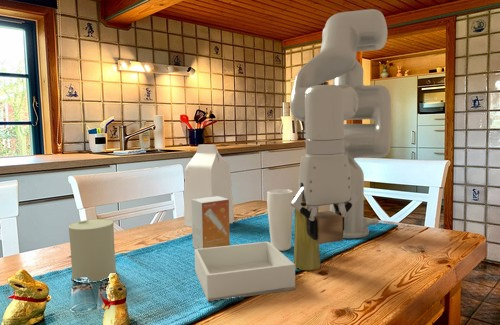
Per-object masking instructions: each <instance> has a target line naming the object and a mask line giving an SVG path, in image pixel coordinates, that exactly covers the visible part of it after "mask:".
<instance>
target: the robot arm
mask: <svg viewBox="0 0 500 325" xmlns="http://www.w3.org/2000/svg"><path fill="white" fill-rule="evenodd" d="M321 33H322V34H321V38H322V41H321V46H320V51H319V53H317V54H315V55H314V57H313V58H311V59H310V60H308V62H306V63H305V64H304V65H303V66H302V67H301V68H300V69H299V70H298V72H297V73H296V76H295V77H294V81H293V86H292V90H291V92H290V93H291V94H290V102H289V105H290V106H289V108H290V112H291V115H292V117H293V118H295V119H296V120H297V121H300V122H305V123H304V124H305V126H304V127H305V129H304V130H305V154H302V155H301V158H300V161H299V162H300V163H299V167H298V168H299V169H298V170H299V171H298V178H297V179H298V180H297V193H296V195H295V196H293V200H292V202H291V206H292V207H294V208H293V209H294V210H295V209H297V210H298V211H299V212H300V213H301V214H303V215H304V217H306V218H307V234H308V235H309V237H311V238H312V239H314V240H317V239H318V228H317V220H315V217H316V213H317V209H318V210H319V207H320V206H329V211H332V212H334V213H336V214H338V215H340V216H342V217H343V239H361V238H364V237H365V238H366V237H367V236H369V234H370V229H369V228H368V227H370V226H377V225H379V222H380V221H379V218H377V217H373V218H369V217H365V216H364V209H365V208H364V202H365V200H364V192H365V191H364V190H365V189H364V185H365V184H364V180H365V179H364V178H365V176H364V175H365V174H364V170H363V169H362V167H361V165H360V164H359V163H357V161H356V160H355V159H367V158H368V159H370V158H371V159H372V158H373V159H374V158H375V159H376V158H378V159H380V158H384V157H385V158H386V156H388V155H389V154H390V151H391V148H392V147H391V145H392V100H391V94H390V91H389V89H388V87H386V86H385V85H381V84H371V85H370V84H369V85H367V84H366V85H364V68H363V66H362V65H361V63H360V62H359V61H358V60H357V53H359V52H366V51H367V52H368V51H379V50H382V49H383V48H384V47H385V45H386V44H387V40H388V26H387V22H386V18H385V16H384V14H383V13H382V12H381V11H380V10H378V9H374V8H371V9H370V8H369V9H360V10H351V11H342V12H337V13H334V14H333V15H332V16H330V17H329V18H328V19H327V21H326V23H325V25H324V28H323V29H322V32H321ZM329 81H332V84H324V83H327V82H329ZM348 120H349V121H350V120H352V121H353V120H354V121H355V120H359V121H360V120H371V121H373V122H374V123H345V121H348ZM301 202H306V204H307V205H306V208H304V207H303V206H302V205H301Z"/></svg>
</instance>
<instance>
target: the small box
mask: <svg viewBox="0 0 500 325" xmlns="http://www.w3.org/2000/svg"><path fill="white" fill-rule="evenodd" d="M191 201H192V227H191V234H192V247H193V248H194V249H202V248H211V247H221V246H230V245H231V244H230V224H229V199H226V198H223V197H219V196H215V197H206V198H200V199H192V200H191Z"/></svg>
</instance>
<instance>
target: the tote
mask: <svg viewBox="0 0 500 325" xmlns="http://www.w3.org/2000/svg"><path fill="white" fill-rule="evenodd" d="M194 271H195V275H196V276H197V279H198V282H199V284H200V286H201V289H202V291H203V293H204V295H205V296H204V297H205V298H206V300H207V302H208V303H210V302H209V301H211V302H215V301H214V300H218V301H221V300H220V299H225V300H227V299H226V298H232V297H239V296H240V297H239V298H245V297H251V296H252V297H253V296H258V295H260V296H261V295H266V294H267V295H268V294H273V293H281V292H287V291H294V290H296V268H295V264H294V261H292V260H290V259H289V258H288V257H287V256H286V255H284V253H282V251H279V250H278V249H276V248H275V247H274V246H273V245H272V244H271V242H269V241H261V242H258V241H257V242H252V243H242V244H230V246H221V247H211V248H202V249H196V248H194ZM241 296H242V297H241ZM232 299H233V298H232Z"/></svg>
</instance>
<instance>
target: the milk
mask: <svg viewBox="0 0 500 325" xmlns="http://www.w3.org/2000/svg"><path fill="white" fill-rule="evenodd" d="M231 173H232V172H231V168H230V165H229V163H228V162H227V161H226V160H225V159H224V157H222V155H221V154H220V152H219V150H218V148H217V145H216V144H198V145H197V149H196V152H195V153H194V155H193V156H192V158H191V159H190V160H189V162H188V163H187V165H186V166H185V169H184V190H183V191H184V192H183V193H184V196H183V198H184V199H183V204H184V205H183V226H184V227H189V228H192V201H191V200H192V199H200V198H206V197H215V196H219V197H223V198H226V199H229V225H231V224H234V223H235V212H234V201H233V198H234V197H233V186H232V174H231ZM233 222H234V223H233ZM230 223H231V224H230Z"/></svg>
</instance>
